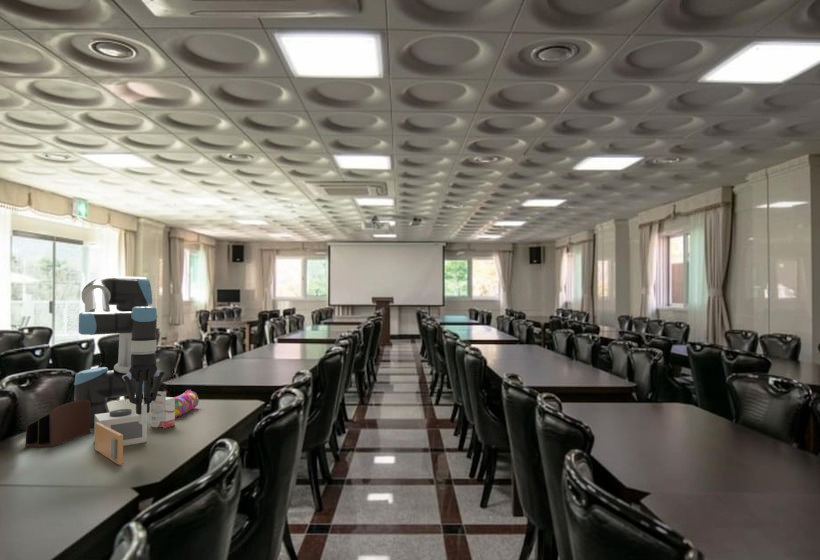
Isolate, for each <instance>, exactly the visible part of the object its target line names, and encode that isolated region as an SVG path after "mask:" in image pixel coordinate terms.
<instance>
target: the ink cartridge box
mask: <svg viewBox="0 0 820 560" xmlns="http://www.w3.org/2000/svg"><path fill="white" fill-rule="evenodd" d="M175 419H176V418H175V398H174V397H172V396H171V397H170V396H167V392H166V391H159V390H158V393H157V397H156V400H155V401H152V402H151V403H150V427H151V426H152V427H151V428H157V427H163V428H162V429H168V428H167V427H169V428H171V427H170V426H172V427H174V426H173V425H176V424H175V423H176V422H175V421H176V420H175Z"/></svg>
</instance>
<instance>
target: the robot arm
mask: <svg viewBox="0 0 820 560" xmlns="http://www.w3.org/2000/svg"><path fill="white" fill-rule="evenodd" d="M152 292H153V291H152V287H151V280H150V279H149V278H148V277H143V276H109V275H108V276H103V277H100V278H96V279H94V280H92V281H90V282H88V283H87V284H86V285H85V286H84V287H83V289H82V291H81V300H82V302H83V303H84V312H80V313H79V314H78V334H79V335H85V336H87V335H88V336H89V335H90V336H95V335H111V334H112V335H113V334H115V335H116V334H119V335H118V360H117V363H116V364H114V366H113V369H112V370H109V368H108V367H106V366H102V367H101V366H100V367H93V368H88V369H85V370H80V371H79V372H76V374H75V377H74V383H73V385H74V399H73V400H74V401H80V400H89V401H90V411H91V412H90V429H94V420H95V414H102V413H110V412H111V411H110V409H109V407H108V399H109V398H110V399H111V398H118V397H119V398H120V397H128V399H129V400H128V401H129V403H130V404H134V405H135V409H136V414H138V415H139V423H140V424H147V425H148V414H149V413H150V412H151V402H152V401H155V400H156V397H157V396H158V394H157V393H158V391H159V388H160V386H161V382H162V378H163V376H164V375H165V372H164V371H162V370H160V369H158V366H157V353H156V352H157V331H158V330H157V325H158V323H157V322H158V310H157V309H158V308H157V307H156V306H151V305H153V293H152ZM110 306H115V308H116V310H117V311H111V308H110ZM153 377H154V380H153V383H152V379H153ZM151 383H152V386H151ZM74 401H73V402H74Z"/></svg>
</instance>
